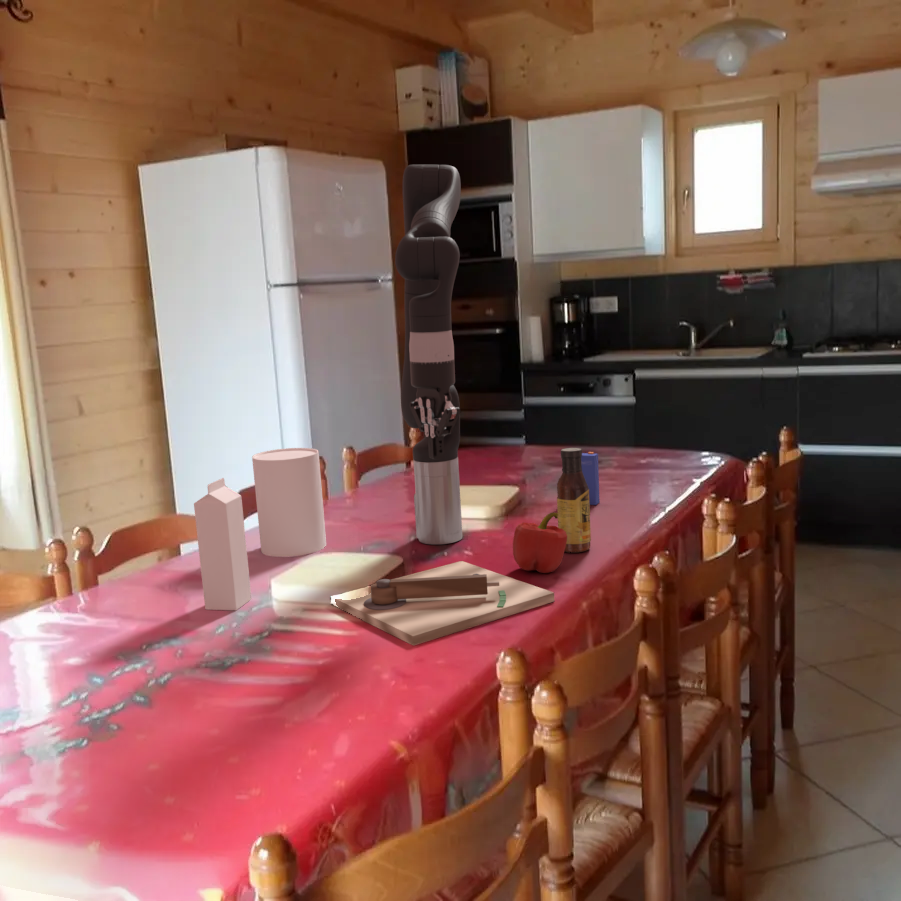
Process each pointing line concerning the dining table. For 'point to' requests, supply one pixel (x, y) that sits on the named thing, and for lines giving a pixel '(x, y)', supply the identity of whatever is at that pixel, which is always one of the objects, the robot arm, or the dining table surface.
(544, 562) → the vegetable
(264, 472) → the canister
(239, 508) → the milk
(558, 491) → the sauce bottle
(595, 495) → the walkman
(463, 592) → the dial lever
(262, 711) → the dining table surface
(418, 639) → the dial board
